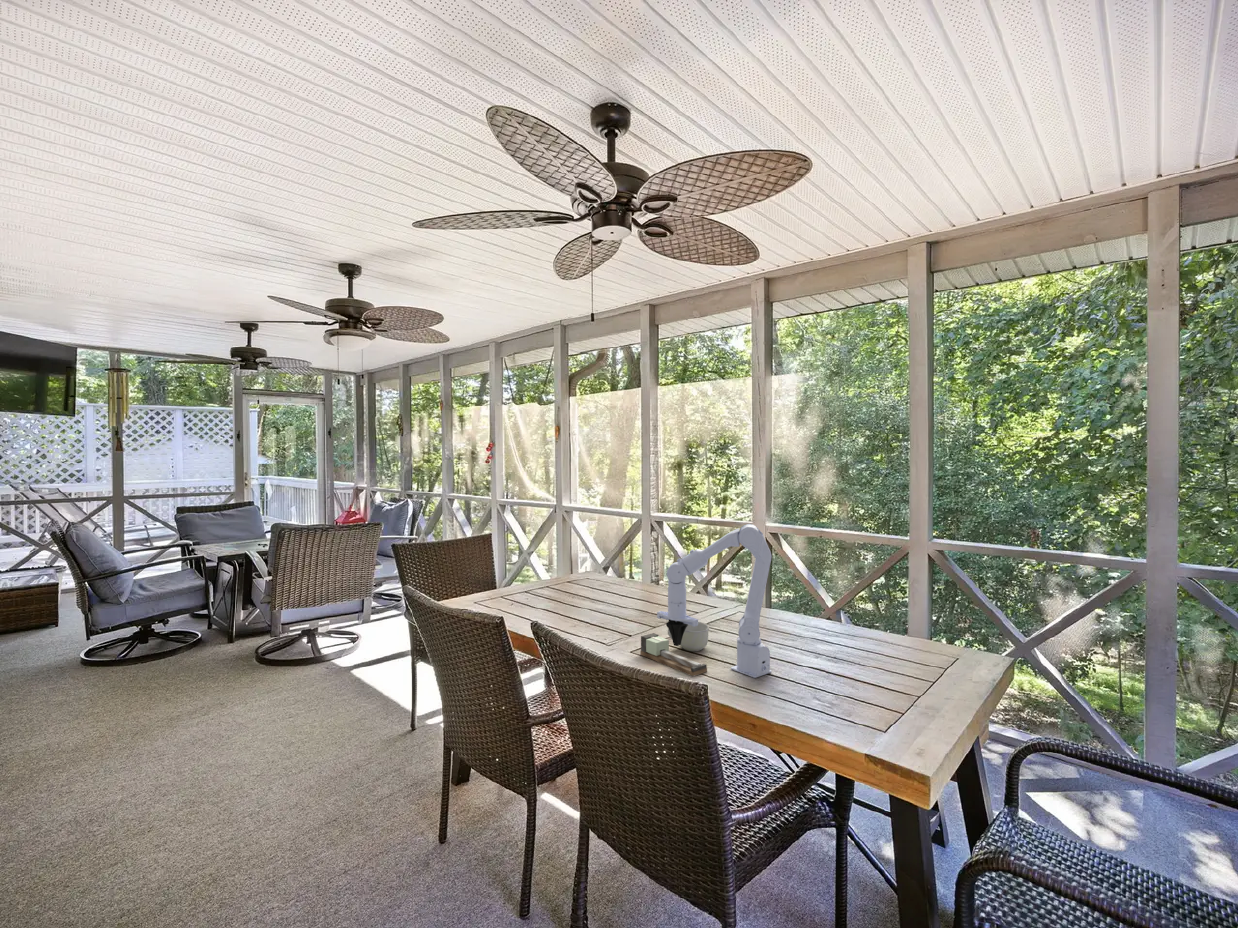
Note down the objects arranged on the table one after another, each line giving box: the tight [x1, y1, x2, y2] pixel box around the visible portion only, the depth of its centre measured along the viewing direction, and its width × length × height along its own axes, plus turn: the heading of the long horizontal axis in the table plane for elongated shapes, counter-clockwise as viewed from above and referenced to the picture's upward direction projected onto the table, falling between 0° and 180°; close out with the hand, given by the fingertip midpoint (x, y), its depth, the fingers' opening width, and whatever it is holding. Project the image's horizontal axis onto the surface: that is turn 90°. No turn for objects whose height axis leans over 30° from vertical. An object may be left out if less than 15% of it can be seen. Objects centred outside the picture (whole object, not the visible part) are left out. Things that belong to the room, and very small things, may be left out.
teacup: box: [667, 621, 710, 652], centre depth 196 cm, size 14×11×8 cm
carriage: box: [646, 635, 670, 656], centre depth 188 cm, size 5×5×4 cm
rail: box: [639, 632, 708, 677], centre depth 182 cm, size 24×6×6 cm, turn 38°
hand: (677, 644), depth 181 cm, fingers closed
